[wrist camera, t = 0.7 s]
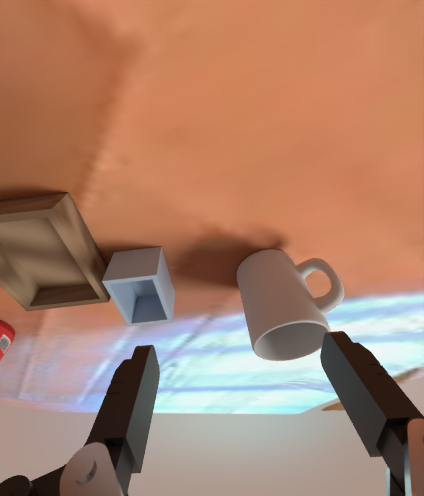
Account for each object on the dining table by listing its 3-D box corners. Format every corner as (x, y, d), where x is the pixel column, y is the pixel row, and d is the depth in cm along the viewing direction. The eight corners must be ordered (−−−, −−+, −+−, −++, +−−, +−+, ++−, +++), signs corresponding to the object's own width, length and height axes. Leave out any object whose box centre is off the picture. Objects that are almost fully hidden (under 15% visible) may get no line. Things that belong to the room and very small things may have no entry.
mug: (258, 297, 36) (279, 368, 27) (223, 272, 32) (235, 346, 23) (326, 256, 31) (377, 325, 23) (296, 220, 27) (344, 289, 19)
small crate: (114, 251, 28) (101, 281, 24) (161, 246, 28) (156, 274, 24) (135, 296, 34) (128, 326, 30) (175, 292, 34) (172, 321, 30)
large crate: (-35, 203, 23) (-65, 222, 20) (68, 192, 23) (51, 208, 20) (41, 290, 31) (27, 311, 29) (115, 281, 31) (108, 301, 29)
